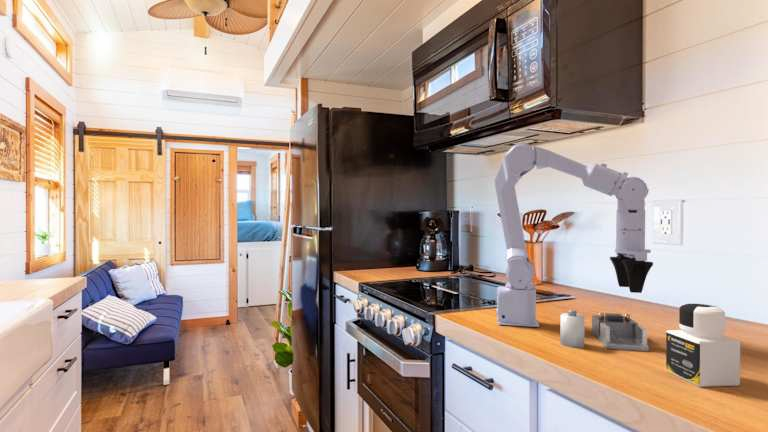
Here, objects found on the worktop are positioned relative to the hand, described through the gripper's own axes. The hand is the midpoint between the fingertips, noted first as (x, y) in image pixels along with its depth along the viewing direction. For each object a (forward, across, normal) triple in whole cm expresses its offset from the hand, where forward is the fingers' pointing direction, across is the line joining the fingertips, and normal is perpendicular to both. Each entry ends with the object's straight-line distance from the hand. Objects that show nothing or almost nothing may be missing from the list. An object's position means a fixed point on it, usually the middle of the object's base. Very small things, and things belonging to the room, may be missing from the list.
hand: (629, 289), depth 98 cm
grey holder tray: (+10, -8, +5) cm, 13 cm away
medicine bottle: (+10, -27, -2) cm, 29 cm away
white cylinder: (+10, -12, +15) cm, 22 cm away
